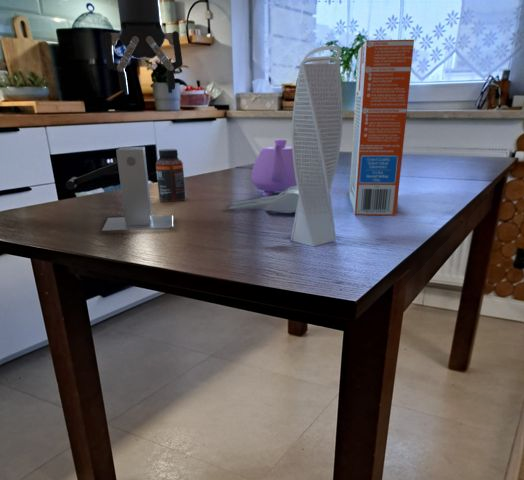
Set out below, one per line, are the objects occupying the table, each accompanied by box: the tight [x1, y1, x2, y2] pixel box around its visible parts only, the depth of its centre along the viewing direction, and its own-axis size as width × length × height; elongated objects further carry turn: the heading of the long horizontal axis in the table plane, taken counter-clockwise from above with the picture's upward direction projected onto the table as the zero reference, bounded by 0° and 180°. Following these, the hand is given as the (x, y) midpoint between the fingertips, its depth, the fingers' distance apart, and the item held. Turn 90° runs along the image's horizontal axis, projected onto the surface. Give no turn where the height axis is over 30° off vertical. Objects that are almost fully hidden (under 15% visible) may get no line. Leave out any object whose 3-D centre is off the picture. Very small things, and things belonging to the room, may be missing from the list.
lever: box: [65, 161, 119, 191], centre depth 89 cm, size 13×5×2 cm, turn 99°
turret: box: [228, 186, 299, 214], centre depth 106 cm, size 10×20×5 cm, turn 82°
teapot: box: [250, 139, 297, 197], centre depth 124 cm, size 20×14×12 cm
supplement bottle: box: [155, 148, 187, 203], centre depth 114 cm, size 6×6×11 cm
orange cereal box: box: [348, 39, 415, 217], centre depth 106 cm, size 23×8×30 cm, turn 174°
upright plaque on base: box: [101, 146, 174, 232], centre depth 91 cm, size 12×10×14 cm
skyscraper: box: [290, 45, 344, 247], centre depth 79 cm, size 8×8×28 cm
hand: (148, 93), depth 102 cm, fingers open, 8 cm apart
